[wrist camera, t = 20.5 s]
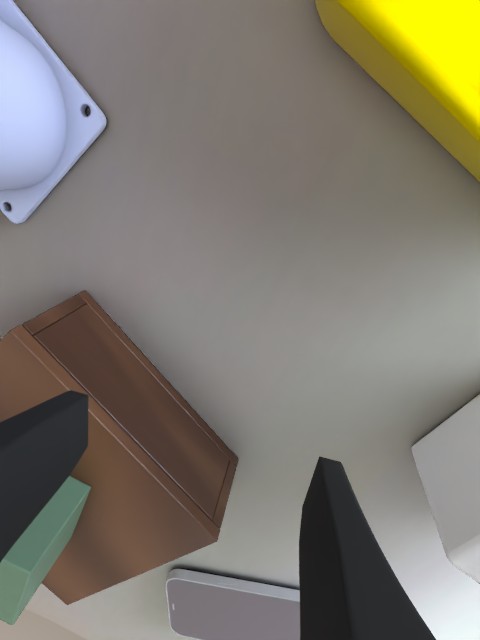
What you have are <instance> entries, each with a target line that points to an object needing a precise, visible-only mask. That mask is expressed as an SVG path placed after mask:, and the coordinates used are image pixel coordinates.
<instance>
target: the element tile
mask: <svg viewBox="0 0 480 640" xmlns="http://www.w3.org/2000/svg"><path fill="white" fill-rule="evenodd" d="M315 5H316V8H317V11H318V13H319V16H320V18H321V21H322V24H323V26H324V27H325V29H326V30H327V32H328V33H329V34H330V36H331V37H332V39H333V40H334V41H335V42H336V43H337V44H338V45H339V46H341V47H342V48H343V49H344V50H345V51H346V52H347V53H348V54H349V55H350V56H351V57H352V58H353V59H354V60H355V61H356V62H357V63H358V64H359V65H360V66H361V67H362V68H363V69H364V70H365V71H366V72H367V73H368V74H369V75H370V76H371V77H372V78H373V79H374V80H375V81H376V82H377V83H378V84H380V85H381V86H382V87H383V88H384V89H385V90H386V91H387V92H388V93H389V94H390V95H391V96H392V97H393V98H394V99H395V100H396V101H397V102H398V103H399V104H400V105H401V106H402V107H403V108H404V109H405V110H406V111H407V112H408V113H409V114H410V115H411V116H412V117H413V118H414V119H415V120H416V121H417V122H419V123H420V124H421V125H422V126H423V127H424V128H425V129H426V130H427V131H428V132H429V133H430V134H431V135H432V136H433V137H434V138H435V139H436V140H437V141H438V142H439V143H440V144H441V145H442V146H443V147H444V148H445V149H446V150H447V151H448V152H449V153H450V154H451V155H452V156H453V157H454V158H455V159H456V160H458V161H459V162H460V163H461V164H462V165H463V166H464V167H465V168H466V169H467V170H468V171H469V172H470V173H471V174H472V175H473V176H474V177H475V178H476V179H477V180H478V181H479V182H480V0H315Z"/></svg>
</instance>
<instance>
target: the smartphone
mask: <svg viewBox="0 0 480 640" xmlns="http://www.w3.org/2000/svg"><path fill="white" fill-rule="evenodd" d="M165 586H166V595H167V604H168V614H169V623H170V627H171V629H172V630H173V631H174V632H175V633H177V634H178V635H181V636H185V637H189V638H194V639H199V640H300V590H295V589H290V588H284V587H279V586H273V585H267V584H262V583H256V582H251V581H245V580H240V579H234V578H228V577H223V576H217V575H212V574H206V573H201V572H195V571H190V570H184V569H174V570H172V571H170V573H169V575H168V578H167V581H166V585H165Z"/></svg>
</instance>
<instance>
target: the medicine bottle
mask: <svg viewBox="0 0 480 640" xmlns="http://www.w3.org/2000/svg"><path fill="white" fill-rule="evenodd" d="M412 454H413V457H414V460H415V463H416V466H417V469H418V472H419V475H420V478H421V481H422V484H423V487H424V490H425V493H426V496H427V499H428V502H429V505H430V508H431V511H432V514H433V517H434V520H435V523H436V526H437V529H438V532H439V535H440V538H441V541H442V544H443V547H444V550H445V553H446V556H447V558H448V560H449V561H450V563H451V564H452V565H454V566H455V567H456V568H458V569H459V570H461V571H462V572H464V573H465V574H466V575H468V576H469V577H471V578H472V579H474V580H475V581H476V582H478V583H479V584H480V394H479V395H478V396H477V397H475V398H474V399H473V400H471V401H470V402H469V403H468V404H466V405H465V406H464V407H462V408H461V409H460V410H458V411H457V412H456V413H455V414H453V415H452V416H451V417H449V418H448V419H447V420H446V421H444V422H443V423H442V424H440V425H439V426H438V427H436V428H435V429H434V430H433V431H431V432H430V433H429V434H427V435H426V436H425V437H424V438H422V439H421V440H420V441H418V442H417V443H416V444H414V445H413V447H412Z"/></svg>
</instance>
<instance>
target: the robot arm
mask: <svg viewBox="0 0 480 640" xmlns="http://www.w3.org/2000/svg"><path fill="white" fill-rule="evenodd" d="M87 106H89V107H90V109H91V114H90V116H88V117H87V115H86V114H85V109H86V107H87ZM106 122H107V121H106V117H105V115H104V113H103V112H102V111H101V109H100V108H99V107H98V106H97V104H96V103H95V102H94V101H93V100H92V98H91V97H90V96H89V95H88V93H87V92H86V91H85V90H84V88H83V87H82V86H81V85H80V83H79V82H78V81H77V80H76V78H75V77H74V76H73V75H72V73H71V72H70V71H69V70H68V68H67V67H66V66H65V65H64V64H63V62H62V61H61V60H60V59H59V57H58V56H57V55H56V54H55V52H54V51H53V50H52V49H51V47H50V46H49V45H48V44H47V42H46V41H45V40H44V39H43V37H42V36H41V35H40V34H39V32H38V31H37V30H36V29H35V28H34V26H33V25H32V24H31V23H30V21H29V20H28V19H27V18H26V16H25V15H24V14H23V13H22V11H21V10H20V9H19V8H18V6H17V5H16V4H15V3H14V1H13V0H0V210H1V211H2V212H3V213H4V215H5V216H6V217H7V218H8V219H9V220H10V221H11V222H12V223H15V224H19V223H23V222H25V221H26V220H27V218H28V217H29V216H30V215H31V214H32V213H33V211H34V210H35V209H36V208H37V207H38V206H39V205H40V203H41V202H42V201H43V200H44V199H45V198H46V196H47V195H48V194H49V193H50V192H51V191H52V189H53V188H54V187H55V186H56V185H57V184H58V182H59V181H60V180H61V179H62V178H63V177H64V175H65V174H66V173H67V172H68V171H69V170H70V169H71V167H72V166H73V165H74V164H75V163H76V162H77V160H78V159H79V158H80V157H81V156H82V155H83V153H84V152H85V151H86V150H87V149H88V148H89V146H90V145H91V144H92V143H93V142H94V141H95V139H96V138H97V137H98V136H99V135H100V134H101V133H102V131H103V130H104V129H105V127H106ZM8 203H9V204H10V205H11V208H12V209H11V210H10V209H9V207H8ZM88 402H89V395H87V394H84V393H80V392H76V391H72V390H69V391H67V392H64V393H62V394H60V395H58V396H56V397H53V398H51V399H49V400H47V401H45V402H43V403H41V404H39V405H36V406H34V407H32V408H30V409H28V410H26V411H24V412H22V413H19V414H17V415H15V416H13V417H11V418H9V419H6V420H4V421H2V422H0V563H1V561H2V560H3V558H4V557H5V556H6V554H7V553H8V552H9V550H10V549H11V548H12V546H13V545H14V544H15V542H16V541H17V540H18V539H19V537H20V536H21V535H22V534H23V533H24V531H25V530H26V529H27V528H28V526H29V525H30V524H31V523H32V521H33V520H34V519H35V518H36V517H37V515H38V514H39V513H40V512H41V510H42V509H43V508H44V507H45V506H46V504H47V503H48V502H49V501H50V499H51V498H52V497H53V496H54V494H55V493H56V492H57V491H58V489H59V488H60V487H61V486H62V484H63V483H64V482H65V481H66V479H67V478H68V477H69V476H70V474H71V472H72V471H73V469H74V468H75V466H76V465H77V463H78V462H79V460H80V458H81V457H82V455H83V453H84V452H85V450H86V448H87V447H88ZM299 576H300V640H436V639H435V637H434V636H433V634H432V633H431V631H430V630H429V628H428V627H427V625H426V624H425V622H424V621H423V619H422V618H421V616H420V615H419V613H418V612H417V610H416V609H415V607H414V605H413V604H412V602H411V601H410V599H409V597H408V596H407V594H406V593H405V591H404V589H403V588H402V586H401V584H400V583H399V581H398V579H397V577H396V576H395V574H394V572H393V570H392V569H391V567H390V565H389V563H388V561H387V560H386V558H385V556H384V554H383V552H382V550H381V548H380V547H379V545H378V543H377V541H376V539H375V537H374V535H373V533H372V531H371V529H370V527H369V525H368V523H367V520H366V518H365V516H364V514H363V512H362V510H361V508H360V506H359V503H358V501H357V499H356V497H355V494H354V492H353V490H352V487H351V485H350V482H349V480H348V478H347V475H346V473H345V470H344V467H343V465H342V464H341V462H338V461H334V460H330V459H327V458H323V457H319V459H318V462H317V465H316V468H315V471H314V474H313V477H312V480H311V483H310V486H309V489H308V492H307V495H306V498H305V501H304V504H303V508H302V518H301V528H300V539H299Z"/></svg>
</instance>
